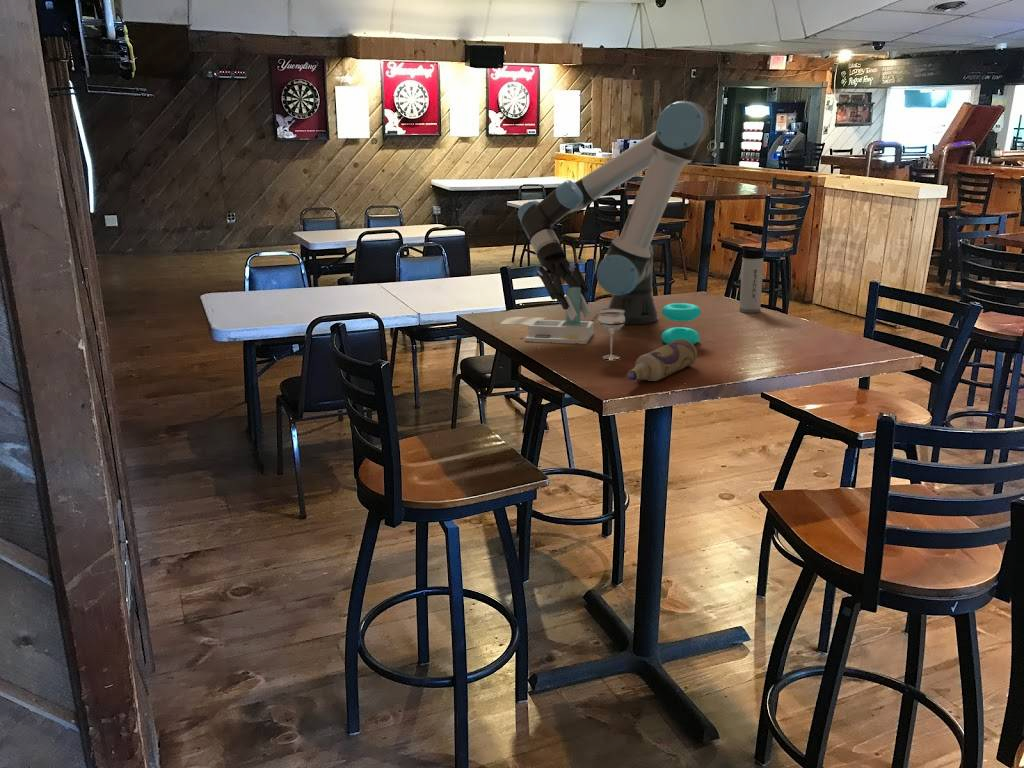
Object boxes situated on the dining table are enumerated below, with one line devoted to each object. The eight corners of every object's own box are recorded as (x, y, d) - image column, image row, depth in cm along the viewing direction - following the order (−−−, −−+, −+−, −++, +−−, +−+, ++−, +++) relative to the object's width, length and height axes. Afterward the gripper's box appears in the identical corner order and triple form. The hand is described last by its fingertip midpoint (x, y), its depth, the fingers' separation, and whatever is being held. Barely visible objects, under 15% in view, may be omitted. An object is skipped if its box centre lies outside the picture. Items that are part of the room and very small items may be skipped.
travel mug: (742, 308, 263) (746, 244, 257) (763, 310, 259) (767, 246, 253) (735, 311, 258) (738, 247, 252) (756, 314, 254) (760, 248, 248)
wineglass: (605, 353, 214) (606, 307, 210) (629, 356, 210) (630, 310, 206) (592, 359, 208) (593, 312, 205) (616, 362, 205) (617, 315, 201)
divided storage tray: (593, 333, 234) (593, 321, 233) (586, 343, 223) (586, 331, 222) (534, 331, 238) (534, 319, 237) (525, 341, 227) (524, 329, 226)
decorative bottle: (670, 362, 204) (671, 336, 202) (697, 367, 199) (699, 341, 197) (611, 387, 185) (612, 358, 183) (640, 394, 181) (641, 364, 179)
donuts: (703, 309, 215) (664, 309, 215) (702, 346, 218) (663, 347, 218) (697, 301, 224) (660, 302, 225) (696, 337, 227) (659, 338, 228)
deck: (546, 321, 251) (546, 317, 251) (539, 328, 242) (539, 325, 242) (508, 319, 254) (508, 316, 254) (499, 327, 245) (499, 323, 245)
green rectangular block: (579, 321, 233) (579, 286, 230) (581, 324, 229) (581, 289, 226) (564, 322, 233) (565, 287, 230) (567, 325, 229) (567, 289, 226)
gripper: (567, 255, 243) (600, 320, 234) (517, 260, 235) (549, 328, 226) (578, 238, 237) (612, 305, 228) (527, 243, 229) (560, 312, 220)
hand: (581, 316), depth 227 cm, fingers closed on green rectangular block, 4 cm apart
